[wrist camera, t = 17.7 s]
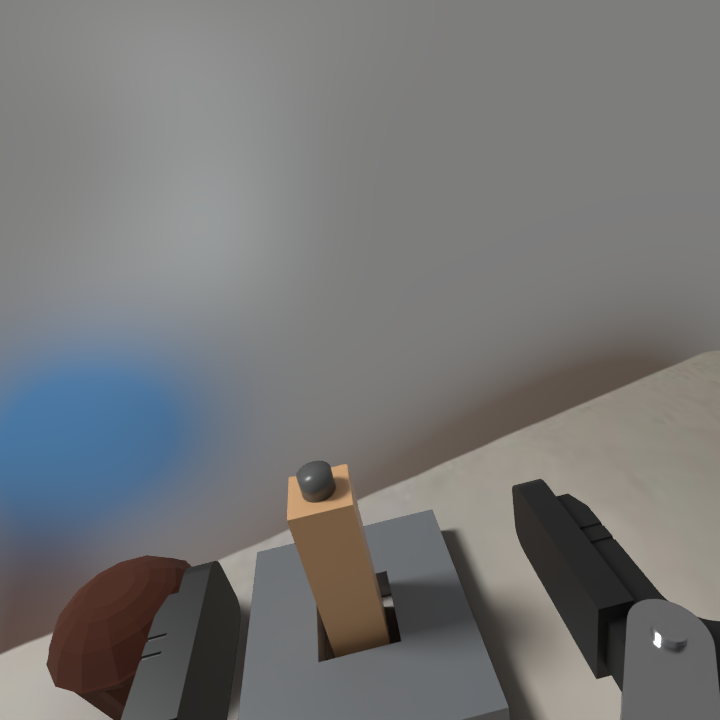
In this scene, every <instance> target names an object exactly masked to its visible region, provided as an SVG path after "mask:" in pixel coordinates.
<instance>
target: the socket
mask: <svg viewBox="0 0 720 720" xmlns="http://www.w3.org/2000/svg"><path fill="white" fill-rule="evenodd" d="M363 527H364V531H365V535H366V539H367V543H368V547H369V551H370V554H371V558H372V562H373V566H374V570H375V574H376V577H377V581H378V585H379V589H380V593H381V596H385V595H389V594H392V599H393V604H394V608H395V613H396V618H397V623H398V627H399V632H400V637H401V641H400V642H396V643H393V644H389V645H385V646H381V647H377V648H373V649H369V650H365V651H361V652H357V653H353V654H349V655H346V656H342V657H338V658H334V659H330V660H326V647H325V627H324V624H323V621H322V618H321V615H320V613H319V610H318V607H317V604H316V601H315V598H314V596H313V593H312V590H311V587H310V584H309V582H308V579H307V576H306V573H305V570H304V567H303V565H302V562H301V559H300V556H299V553H298V550H297V548H296V545H295V543H294V544H290V545H285V546H281V547H277V548H273V549H269V550H265V551H261V552H257V560H256V568H255V577H254V586H253V594H252V603H251V611H250V620H249V628H248V637H247V646H246V654H245V663H244V671H243V680H242V688H241V697H240V705H239V714H238V720H510V714H509V707H508V704H507V701H506V699H505V696H504V694H503V691H502V688H501V686H500V683H499V681H498V678H497V676H496V673H495V670H494V668H493V665H492V663H491V660H490V657H489V655H488V652H487V650H486V647H485V645H484V642H483V639H482V637H481V634H480V632H479V629H478V626H477V624H476V621H475V619H474V616H473V614H472V611H471V608H470V606H469V603H468V601H467V598H466V595H465V593H464V590H463V588H462V585H461V582H460V580H459V577H458V575H457V572H456V570H455V567H454V564H453V562H452V559H451V557H450V554H449V551H448V549H447V546H446V544H445V541H444V539H443V536H442V533H441V531H440V528H439V526H438V523H437V520H436V518H435V515H434V513H433V510H428V511H424V512H420V513H416V514H411V515H407V516H403V517H399V518H395V519H391V520H387V521H383V522H379V523H375V524H371V525H367V526H363Z"/></svg>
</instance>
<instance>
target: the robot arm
mask: <svg viewBox="0 0 720 720" xmlns="http://www.w3.org/2000/svg"><path fill="white" fill-rule="evenodd" d="M512 494H513V505H514V517H515V527H516V532H517V536H518V539H519V541H520V544H521V546H522V548H523V550H524V552H525V554H526V556H527V558H528V559H529V561H530V563H531V565H532V566H533V568H534V570H535V572H536V573H537V575H538V577H539V579H540V580H541V582H542V584H543V586H544V587H545V589H546V591H547V593H548V595H549V596H550V598H551V600H552V602H553V603H554V605H555V607H556V609H557V610H558V612H559V614H560V616H561V617H562V619H563V621H564V623H565V624H566V626H567V628H568V630H569V631H570V633H571V635H572V637H573V639H574V640H575V642H576V644H577V646H578V647H579V649H580V651H581V653H582V654H583V656H584V658H585V660H586V661H587V663H588V665H589V667H590V668H591V670H592V672H593V674H594V675H595V677H596V679H599V678H602V677H606V676H610V675H612V677H613V678H614V680H615V682H616V683H617V685H618V687H619V688H620V690H621V692H622V698H621V715H620V720H720V621H711V620H706V619H702V618H699V617H697V616H695V615H694V614H693V613H691V612H690V611H688V610H687V609H685V608H684V607H682V606H680V605H677V604H675V603H672V602H669V601H668V600H667V599H665V598H664V597H663V596H662V595H661V594H660V593H659V592H658V590H657V589H656V588H655V587H654V586H653V584H652V583H651V582H650V581H649V579H648V578H647V577H646V576H645V575H644V573H643V572H642V571H641V570H640V569H639V567H638V566H637V565H636V564H635V563H634V561H633V560H632V559H631V558H630V557H629V555H628V554H627V553H626V552H625V551H624V549H623V548H622V547H621V546H620V545H619V543H618V542H617V541H616V540H614V539H613V537H612V535H611V534H610V532H609V531H608V530H607V529H606V528H605V526H602V524H601V522H600V520H599V519H598V518H597V517H596V516H595V514H594V513H593V512H592V511H591V510H590V508H589V507H588V506H587V505H585V504H584V503H582V502H581V501H579V500H577V499H576V498H574V497H573V496H571V495H569V494H565V495H561V496H557V497H556V496H555V495H554V493H553V492H552V491H551V489H550V488H549V487H548V485H547V484H546V483H545V482H544V481H543V480H542V479H538V480H534V481H530V482H526V483H522V484H518V485H514V486H513V487H512ZM239 628H240V607H239V602H238V599H237V596H236V594H235V592H234V590H233V588H232V586H231V584H230V582H229V581H228V579H227V577H226V575H225V573H224V571H223V569H222V567H221V565H220V563H219V562H218V561H213V562H209V563H205V564H202V565H198V566H194V567H190V568H187V569H186V571H185V573H184V575H183V579H182V582H181V586H180V589H179V592H178V593H175V594H171V595H168V597H167V598H166V600H165V601H164V603H163V604H162V606H161V607H160V609H159V610H158V612H157V613H156V615H155V616H154V620H153V623H152V626H151V629H150V632H149V635H148V642H146V644H145V647H144V650H143V653H142V656H141V657H142V661H140V662H139V665H138V668H137V672H136V675H135V678H134V681H133V684H132V687H131V690H130V693H129V696H128V699H127V702H126V705H125V708H124V711H123V714H122V717H121V720H227V716H228V708H229V701H230V694H231V686H232V679H233V672H234V664H235V657H236V650H237V642H238V635H239Z"/></svg>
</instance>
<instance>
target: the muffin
mask: <svg viewBox="0 0 720 720" xmlns="http://www.w3.org/2000/svg"><path fill="white" fill-rule="evenodd" d="M190 567H191V566H190V565H189V564H188V563H187V562H186V561H184V560H178V559H174V558H165V557H156V556H143V557H139V558H135V559H131V560H127V561H124V562H120V563H118V564H116V565H114V566H113V567H111V568H109V569H107V570H105V571H103V572H101V573H99V574H98V575H96V576H95V577H94V578H93V579H92V580H90V581H89V582H88V583H87V584H86V585H84V586H83V587H82V588H81V589H79V590H78V591H77V593H76V594H75V595H74V596H73V598H72V599H71V600H70V602H69V603H68V604H67V606H66V607H65V608H64V610H63V611H62V612H61V614H60V615H59V617H58V620H57V622H56V625H55V629H54V632H53V636H52V640H51V643H50V647H49V655H48V661H47V667H48V669H49V672H50V674H51V677H52V679H53V682H54V684H55V686H56V687H59V688H63V689H66V690H70V691H73V692H75V693H76V694H78V695H79V696H81V697H82V698H83V699H85V700H86V701H88V702H89V703H91V704H92V705H93V706H95V707H96V708H98V709H99V710H100V711H102V712H103V713H105V714H106V715H108V716H109V717H110V718H112V719H113V720H121V717H122V714H123V711H124V708H125V705H126V702H127V699H128V696H129V693H130V690H131V687H132V684H133V681H134V678H135V675H136V672H137V668H138V665H139V662H140V661H142V657H141V656H142V653H143V650H144V647H145V644H146V642H148V635H149V632H150V629H151V626H152V623H153V620H154V616H155V615H156V613H157V612H158V610H159V609H160V607H161V606H162V604H163V603H164V601H165V600H166V598H167V597H168V595H171V594H175V593H178V592H179V589H180V586H181V582H182V579H183V575H184V573H185V571H186V569H187V568H190Z"/></svg>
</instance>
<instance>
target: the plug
mask: <svg viewBox="0 0 720 720" xmlns="http://www.w3.org/2000/svg"><path fill="white" fill-rule="evenodd" d="M287 522H288V525H289V528H290V531H291V533H292V536H293V539H294V542H295V545H296V548H297V550H298V553H299V556H300V559H301V562H302V565H303V567H304V570H305V573H306V576H307V579H308V582H309V584H310V587H311V590H312V593H313V596H314V598H315V601H316V604H317V607H318V610H319V613H320V615H321V618H322V621H323V624H324V627H325V630H326V632H327V635H328V638H329V641H330V644H331V647H332V649H333V652H334V655H335V658H338V657H342V656H346V655H349V654H353V653H357V652H361V651H365V650H369V649H373V648H377V647H381V646H385V645H389V644H391V641H390V635H389V630H388V625H387V619H386V614H385V609H384V604H383V600H382V597H381V593H380V589H379V585H378V581H377V577H376V574H375V570H374V566H373V562H372V558H371V554H370V551H369V547H368V543H367V539H366V535H365V531H364V527H363V524H362V520H361V516H360V512H359V508H358V504H357V501H356V497H355V493H354V489H353V485H352V481H351V478H350V474H349V470H348V466H347V464H344V465H339V466H336V467H330V465H329V464H328V463H327V462H324V461H313V462H310V463H307V464H306V465H304V466H302V467H301V468H300V469H299V471H298V472H297V475H296V476H294V477H289V488H288V512H287Z"/></svg>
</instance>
